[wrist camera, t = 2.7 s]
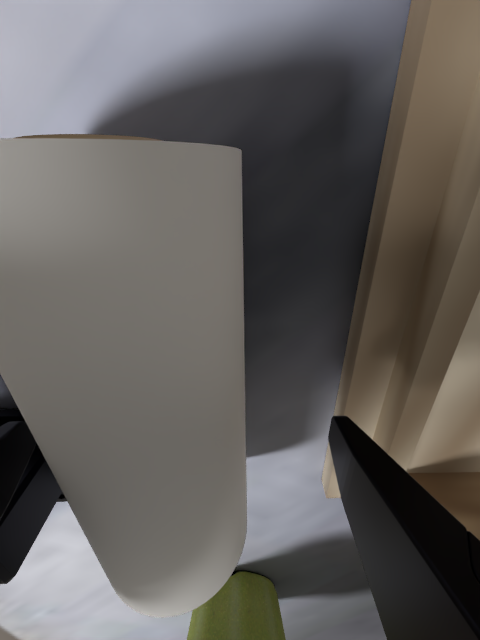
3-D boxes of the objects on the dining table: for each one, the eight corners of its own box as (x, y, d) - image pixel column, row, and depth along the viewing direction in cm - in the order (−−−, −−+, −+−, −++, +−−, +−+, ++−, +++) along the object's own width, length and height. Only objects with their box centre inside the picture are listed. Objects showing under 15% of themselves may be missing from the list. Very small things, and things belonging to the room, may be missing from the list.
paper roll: (265, 488, 14) (205, 660, 9) (164, 448, 16) (72, 570, 11) (277, 144, 7) (67, 93, 2) (101, 154, 9) (-203, 138, 4)
